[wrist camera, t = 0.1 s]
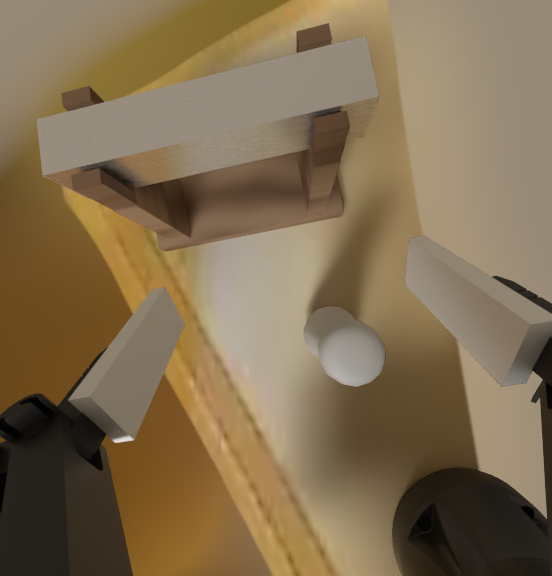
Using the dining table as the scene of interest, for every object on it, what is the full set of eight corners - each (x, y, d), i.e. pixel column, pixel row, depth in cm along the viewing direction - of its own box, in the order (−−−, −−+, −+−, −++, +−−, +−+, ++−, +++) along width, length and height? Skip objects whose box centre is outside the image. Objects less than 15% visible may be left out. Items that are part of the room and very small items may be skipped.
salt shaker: (328, 295, 28) (355, 289, 15) (364, 331, 27) (424, 357, 15) (292, 330, 28) (289, 353, 15) (327, 366, 28) (354, 423, 15)
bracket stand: (341, 216, 29) (386, 127, 14) (165, 251, 30) (45, 204, 16) (328, 152, 29) (359, 5, 15) (157, 190, 31) (33, 92, 16)
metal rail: (363, 136, 18) (379, 96, 14) (88, 198, 19) (42, 175, 16) (352, 87, 18) (366, 35, 15) (82, 151, 20) (36, 119, 16)
